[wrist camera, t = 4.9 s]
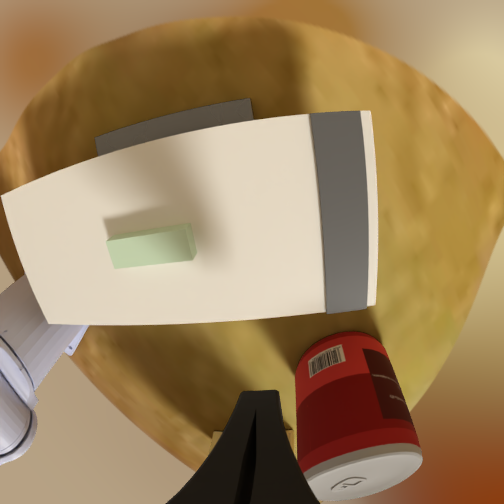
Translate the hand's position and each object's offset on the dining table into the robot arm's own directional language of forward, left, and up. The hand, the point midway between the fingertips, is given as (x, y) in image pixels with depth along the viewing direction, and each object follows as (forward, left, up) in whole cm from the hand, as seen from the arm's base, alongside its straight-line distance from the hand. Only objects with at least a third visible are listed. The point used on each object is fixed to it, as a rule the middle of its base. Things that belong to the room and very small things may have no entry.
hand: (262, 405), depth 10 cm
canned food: (-2, -10, -11) cm, 15 cm away
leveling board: (0, +7, -6) cm, 9 cm away
